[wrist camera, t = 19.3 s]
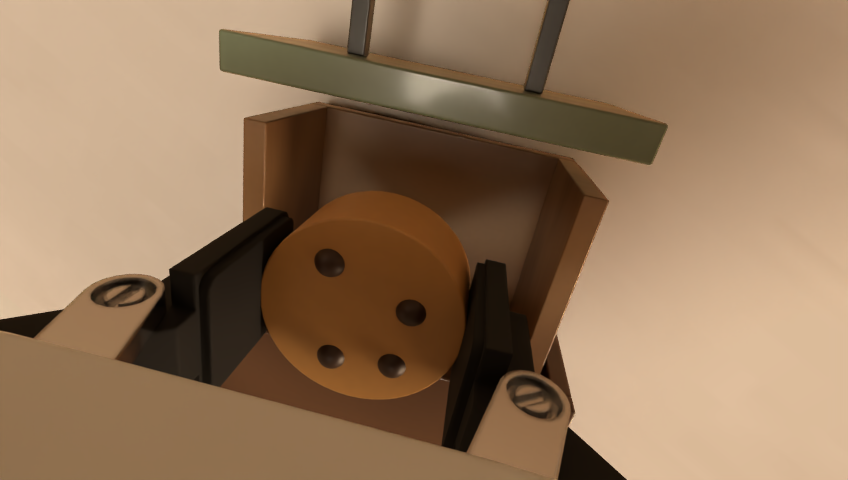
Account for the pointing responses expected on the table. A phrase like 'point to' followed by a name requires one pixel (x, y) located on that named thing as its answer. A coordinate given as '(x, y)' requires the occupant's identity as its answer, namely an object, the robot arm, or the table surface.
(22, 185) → the table surface
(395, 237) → the cookie
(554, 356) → the cabinet
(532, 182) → the drawer
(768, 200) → the table surface
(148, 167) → the table surface
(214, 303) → the robot arm
